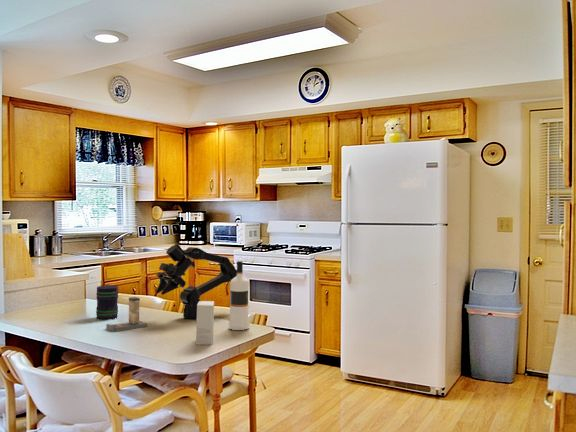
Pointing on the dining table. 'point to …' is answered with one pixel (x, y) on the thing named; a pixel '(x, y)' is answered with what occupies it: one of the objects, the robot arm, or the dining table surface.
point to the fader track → (125, 326)
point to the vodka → (239, 300)
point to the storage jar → (107, 302)
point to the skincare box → (205, 323)
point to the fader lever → (134, 310)
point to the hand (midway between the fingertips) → (159, 293)
